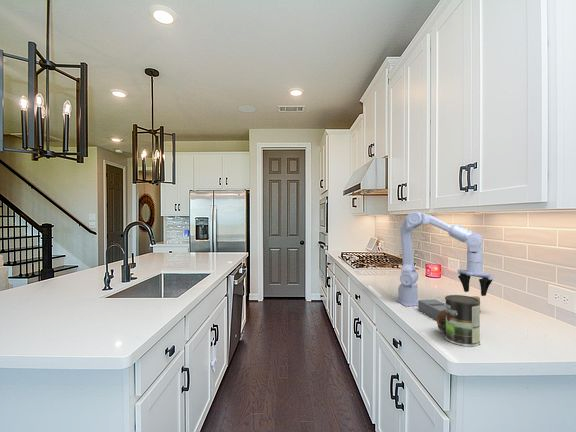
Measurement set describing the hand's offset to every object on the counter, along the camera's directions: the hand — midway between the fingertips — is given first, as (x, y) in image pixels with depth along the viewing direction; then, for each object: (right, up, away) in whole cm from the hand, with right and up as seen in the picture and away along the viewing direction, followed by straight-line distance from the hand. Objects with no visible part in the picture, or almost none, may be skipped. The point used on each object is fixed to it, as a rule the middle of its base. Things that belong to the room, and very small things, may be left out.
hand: (474, 293), depth 135 cm
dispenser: (-17, -9, -2) cm, 19 cm away
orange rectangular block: (-4, -8, -1) cm, 9 cm away
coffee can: (-21, -9, -29) cm, 37 cm away
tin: (-19, -9, -21) cm, 29 cm away
